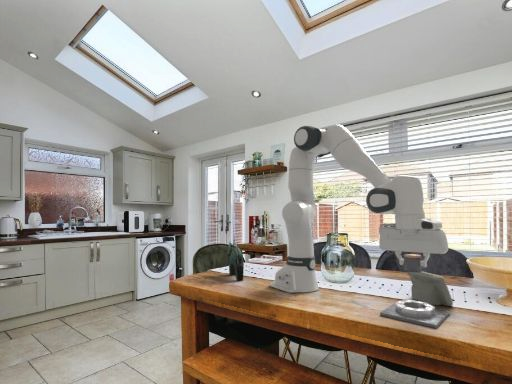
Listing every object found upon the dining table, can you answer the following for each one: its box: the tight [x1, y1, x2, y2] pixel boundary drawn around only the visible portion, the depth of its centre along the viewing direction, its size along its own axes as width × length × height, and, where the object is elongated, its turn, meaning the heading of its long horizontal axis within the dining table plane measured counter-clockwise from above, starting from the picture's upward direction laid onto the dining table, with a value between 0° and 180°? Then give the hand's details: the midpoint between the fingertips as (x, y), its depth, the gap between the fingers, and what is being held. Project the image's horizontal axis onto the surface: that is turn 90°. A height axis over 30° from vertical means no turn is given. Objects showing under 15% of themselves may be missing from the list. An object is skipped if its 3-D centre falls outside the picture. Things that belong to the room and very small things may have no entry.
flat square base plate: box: [379, 299, 451, 329], centre depth 96 cm, size 16×16×3 cm
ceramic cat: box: [226, 238, 245, 282], centre depth 157 cm, size 20×6×20 cm, turn 17°
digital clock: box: [408, 271, 454, 307], centre depth 110 cm, size 16×9×11 cm, turn 2°
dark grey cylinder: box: [403, 253, 423, 272], centre depth 97 cm, size 5×5×5 cm
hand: (413, 265), depth 97 cm, fingers closed on dark grey cylinder, 5 cm apart
